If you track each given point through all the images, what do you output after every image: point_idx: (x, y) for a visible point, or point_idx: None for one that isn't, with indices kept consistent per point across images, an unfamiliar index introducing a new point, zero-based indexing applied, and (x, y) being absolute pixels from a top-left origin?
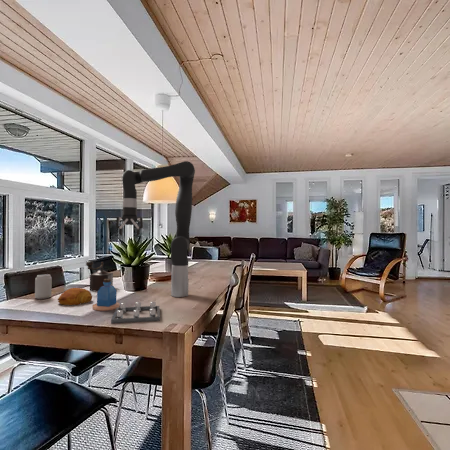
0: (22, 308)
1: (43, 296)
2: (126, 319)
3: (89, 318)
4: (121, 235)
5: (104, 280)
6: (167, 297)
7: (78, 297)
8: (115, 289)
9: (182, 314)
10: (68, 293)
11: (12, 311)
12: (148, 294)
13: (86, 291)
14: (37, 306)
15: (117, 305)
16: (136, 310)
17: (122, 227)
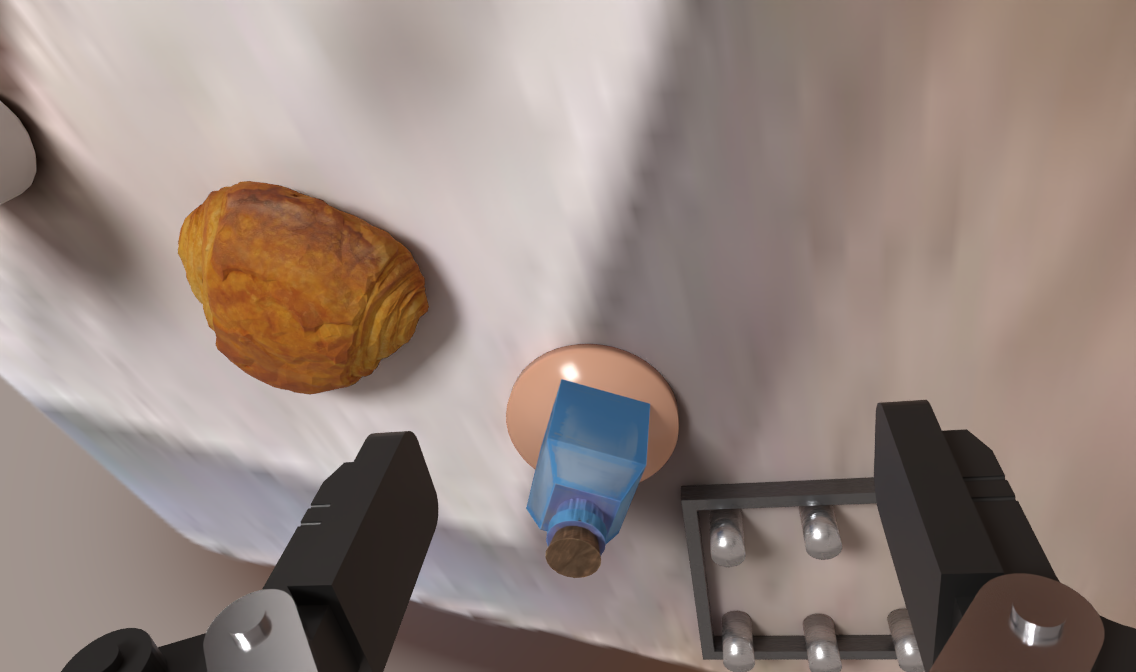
0: (118, 403)
1: (18, 194)
2: (774, 656)
3: (576, 579)
4: (428, 515)
5: (559, 567)
6: (1085, 149)
7: (364, 374)
8: (639, 476)
9: (1092, 575)
10: (276, 375)
11: (120, 450)
12: (887, 5)
13: (367, 318)
14: (162, 370)
15: (671, 447)
16: (825, 667)
17: (314, 654)
